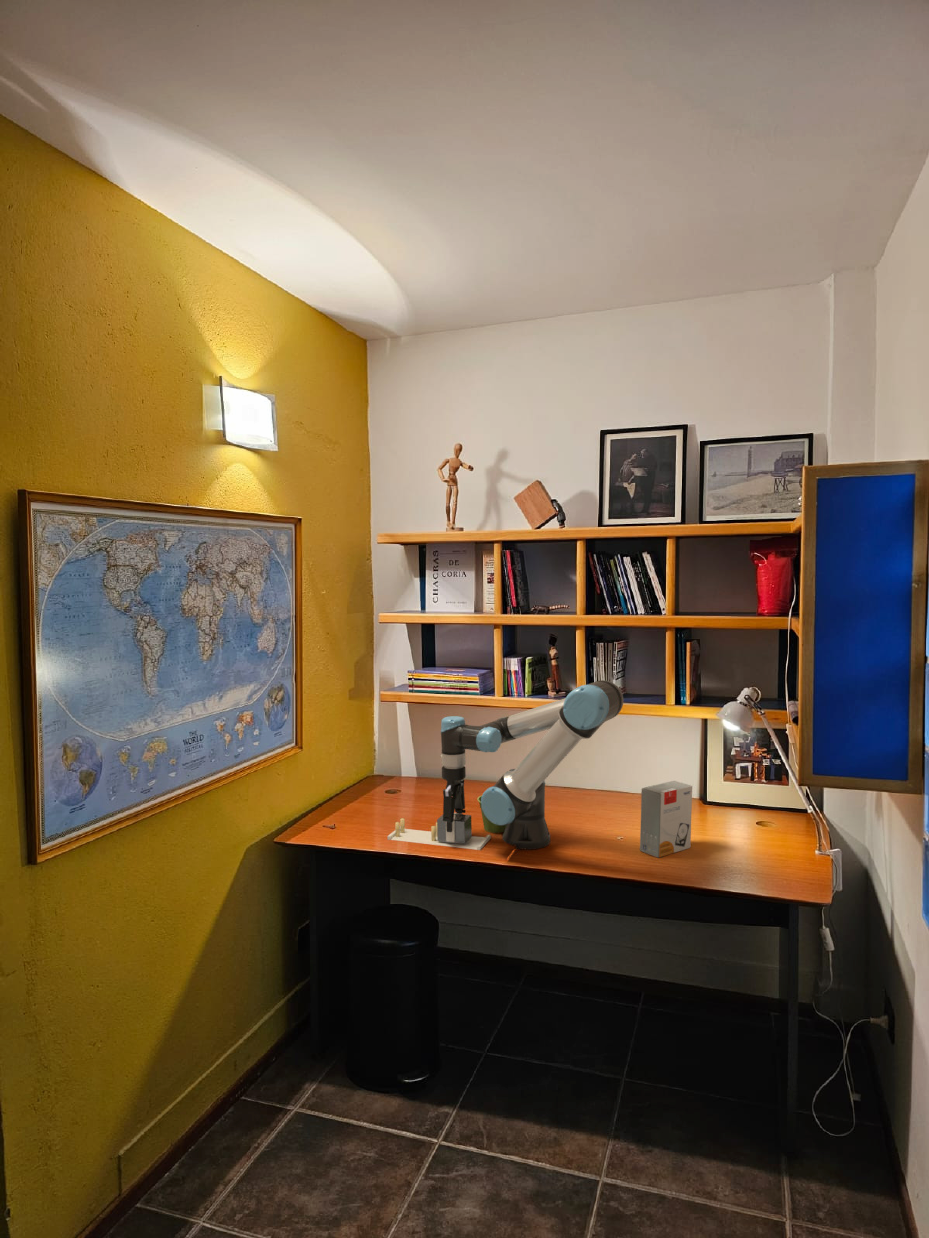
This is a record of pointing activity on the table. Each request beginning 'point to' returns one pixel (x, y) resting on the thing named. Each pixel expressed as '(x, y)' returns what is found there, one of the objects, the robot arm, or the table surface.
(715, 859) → the table surface
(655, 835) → the hard drive box
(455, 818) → the block
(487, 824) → the plant pot
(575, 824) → the table surface
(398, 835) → the tray
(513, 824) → the robot arm
